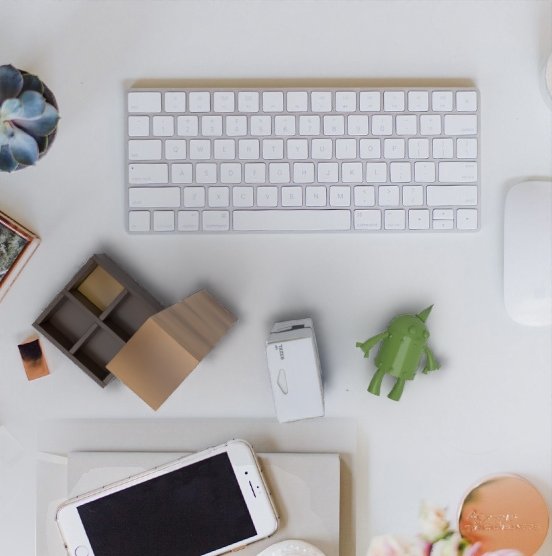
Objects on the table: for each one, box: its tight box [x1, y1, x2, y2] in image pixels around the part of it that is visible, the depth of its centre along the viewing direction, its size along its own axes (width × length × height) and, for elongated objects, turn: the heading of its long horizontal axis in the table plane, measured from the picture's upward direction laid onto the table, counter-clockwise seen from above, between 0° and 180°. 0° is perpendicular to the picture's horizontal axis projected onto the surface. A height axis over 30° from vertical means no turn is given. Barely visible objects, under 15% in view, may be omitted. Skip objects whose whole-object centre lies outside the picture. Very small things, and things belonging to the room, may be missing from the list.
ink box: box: [265, 317, 326, 425], centre depth 62 cm, size 8×5×12 cm, turn 9°
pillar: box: [106, 288, 238, 412], centre depth 57 cm, size 6×6×22 cm
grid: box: [31, 252, 167, 389], centre depth 67 cm, size 11×11×3 cm
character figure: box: [355, 303, 441, 402], centre depth 65 cm, size 12×5×12 cm
